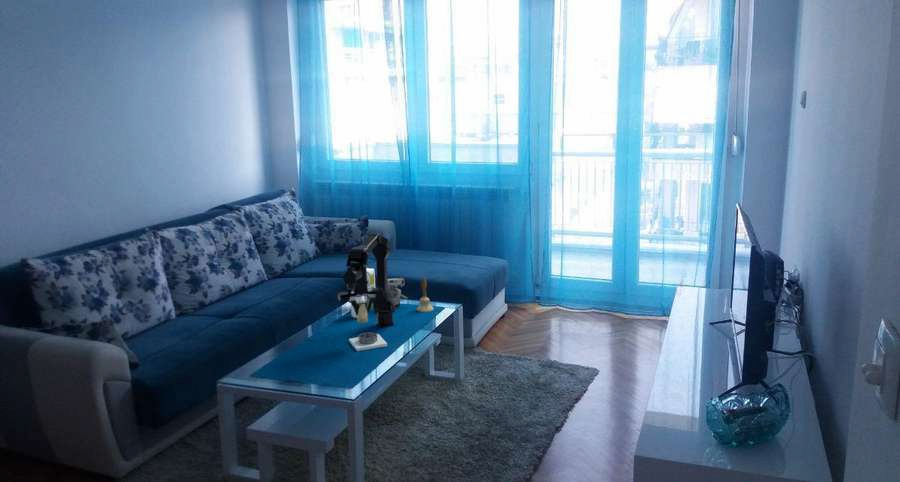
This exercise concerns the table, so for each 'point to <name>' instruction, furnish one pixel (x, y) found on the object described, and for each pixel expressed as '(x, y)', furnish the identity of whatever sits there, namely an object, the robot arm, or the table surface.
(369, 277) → the juice carton
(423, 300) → the hand bell
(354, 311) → the can
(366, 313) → the brass cylinder
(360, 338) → the socket collar
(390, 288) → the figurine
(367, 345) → the socket base
